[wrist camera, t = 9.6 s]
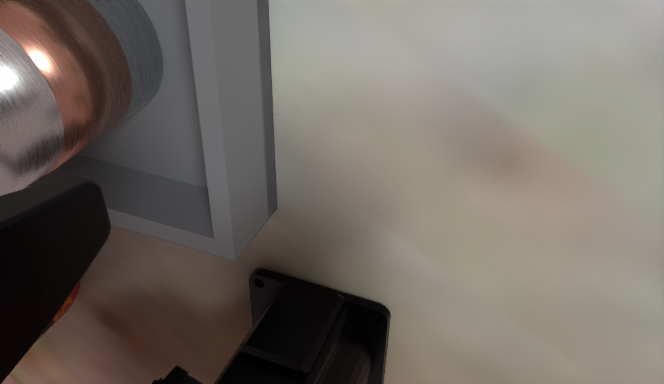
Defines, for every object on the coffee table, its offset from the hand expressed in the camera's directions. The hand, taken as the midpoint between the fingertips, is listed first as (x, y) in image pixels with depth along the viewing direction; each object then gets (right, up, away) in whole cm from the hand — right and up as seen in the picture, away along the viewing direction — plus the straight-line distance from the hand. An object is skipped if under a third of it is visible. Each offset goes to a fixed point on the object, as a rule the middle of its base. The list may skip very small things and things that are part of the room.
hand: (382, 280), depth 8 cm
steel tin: (-9, +7, +15) cm, 19 cm away
